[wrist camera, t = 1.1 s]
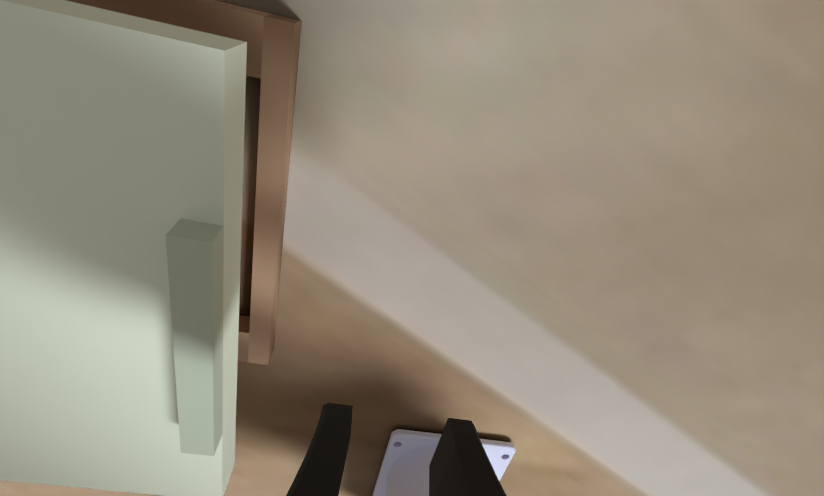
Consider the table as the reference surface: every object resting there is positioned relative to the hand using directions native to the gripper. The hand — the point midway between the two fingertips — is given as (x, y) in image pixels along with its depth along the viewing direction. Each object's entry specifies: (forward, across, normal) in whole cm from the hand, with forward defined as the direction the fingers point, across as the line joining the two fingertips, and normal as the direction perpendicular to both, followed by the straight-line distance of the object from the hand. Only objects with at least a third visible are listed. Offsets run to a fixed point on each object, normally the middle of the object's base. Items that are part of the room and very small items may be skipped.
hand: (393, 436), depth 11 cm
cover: (+4, +10, 0) cm, 11 cm away
